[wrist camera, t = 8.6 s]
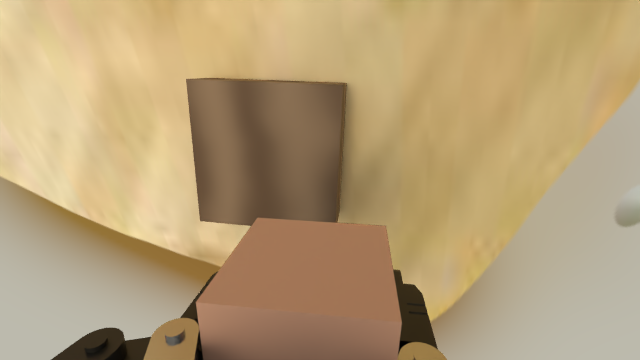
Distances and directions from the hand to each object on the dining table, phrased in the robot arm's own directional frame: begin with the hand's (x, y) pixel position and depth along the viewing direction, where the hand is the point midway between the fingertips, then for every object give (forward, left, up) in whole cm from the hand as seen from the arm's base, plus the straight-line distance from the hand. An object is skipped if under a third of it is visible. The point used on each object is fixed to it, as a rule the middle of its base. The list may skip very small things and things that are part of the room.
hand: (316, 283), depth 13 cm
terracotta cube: (0, 0, 0) cm, 0 cm away
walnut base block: (+6, -1, -18) cm, 19 cm away
